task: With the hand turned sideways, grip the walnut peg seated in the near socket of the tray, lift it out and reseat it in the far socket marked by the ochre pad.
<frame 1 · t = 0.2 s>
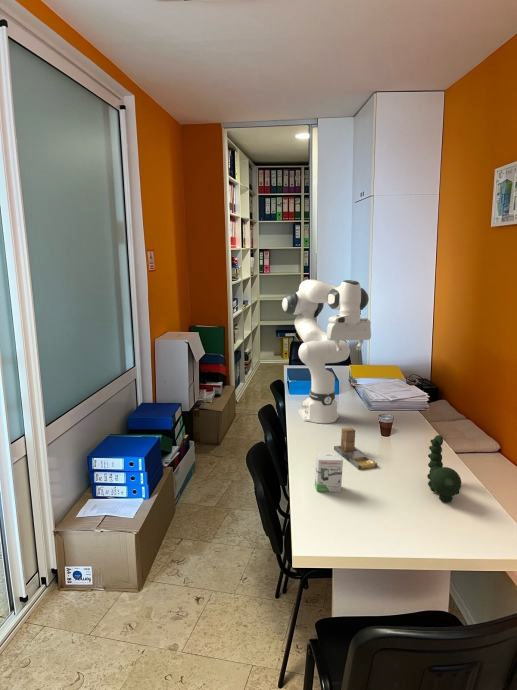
hand: (348, 350, 215), 39 cm above the table, tool pointing down, fingers open, 8 cm apart
toy figurine: (440, 492, 172), on the table
walnut peg: (347, 452, 205), resting in tray
ink box: (327, 489, 173), on the table
tray: (354, 458, 199), on the table
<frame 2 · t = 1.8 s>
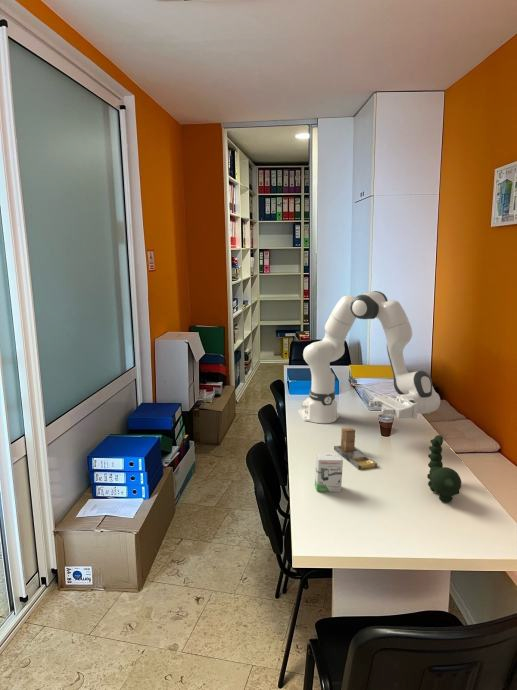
hand: (375, 408, 205), 18 cm above the table, tool horizontal, fingers open, 8 cm apart
nothing on the table moved.
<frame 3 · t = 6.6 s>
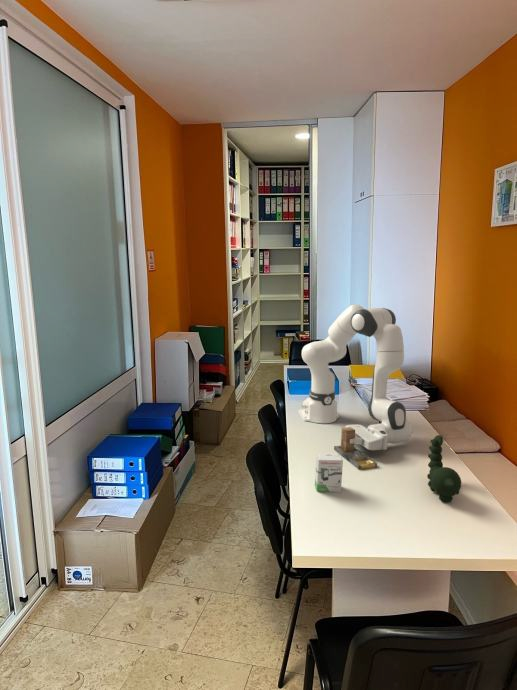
hand: (346, 438, 203), 6 cm above the table, tool horizontal, fingers closed on walnut peg, 4 cm apart
walnut peg: (347, 452, 205), resting in tray, touching gripper
everything else where it was.
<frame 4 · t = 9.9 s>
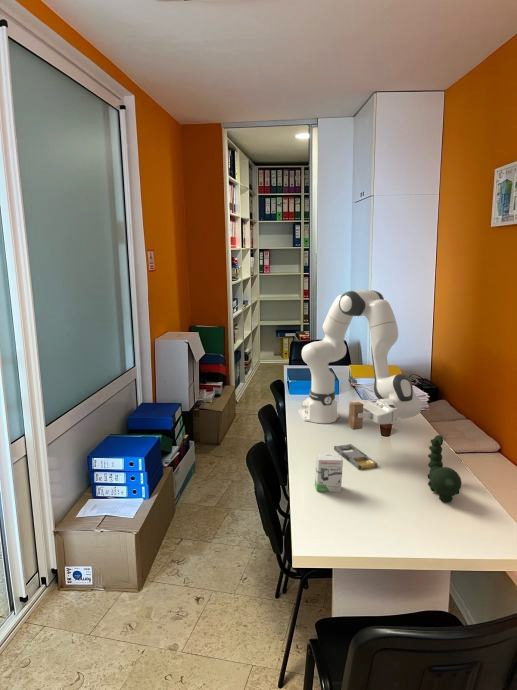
hand: (354, 413, 196), 18 cm above the table, tool horizontal, fingers closed on walnut peg, 4 cm apart
walnut peg: (355, 427, 198), point 12 cm above the table, touching gripper
everything else where it was.
when the fingers open (7 cm above the table, at t = 13.5 s): walnut peg drops 1 cm, resting on tray.
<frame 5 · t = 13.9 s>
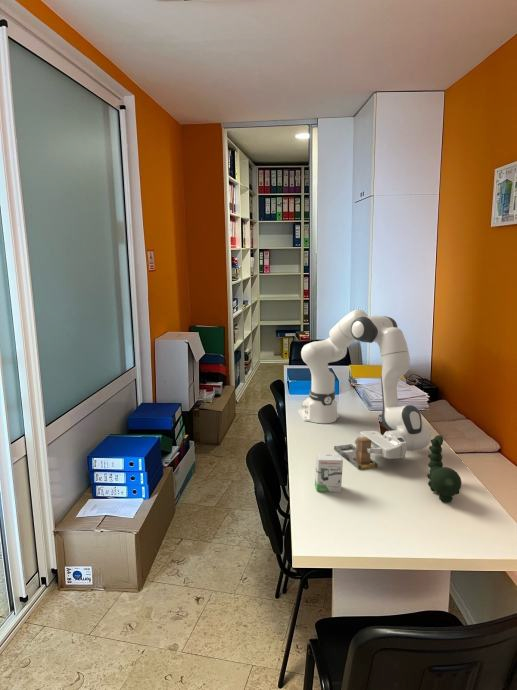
hand: (361, 446, 192), 7 cm above the table, tool horizontal, fingers open, 8 cm apart
walnut peg: (362, 463, 193), resting on tray
everything else where it was.
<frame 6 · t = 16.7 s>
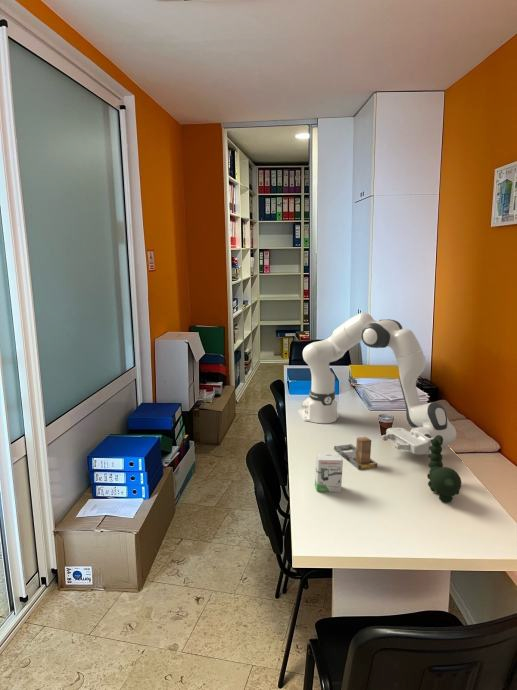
hand: (389, 442, 196), 8 cm above the table, tool horizontal, fingers open, 8 cm apart
nothing on the table moved.
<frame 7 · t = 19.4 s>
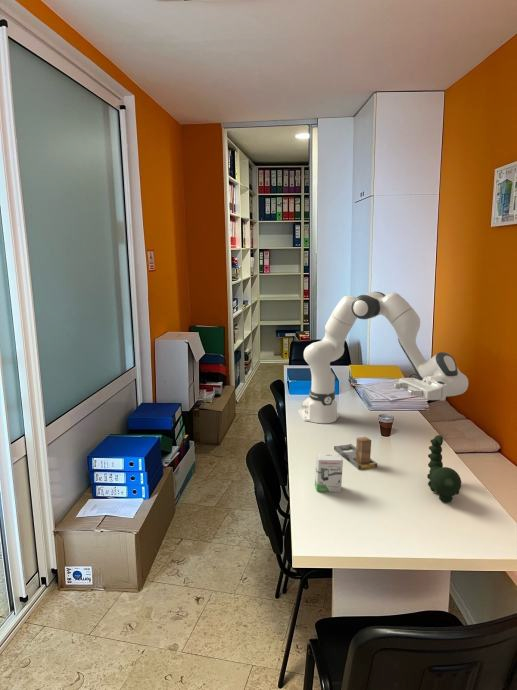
hand: (402, 389, 196), 28 cm above the table, tool horizontal, fingers open, 8 cm apart
nothing on the table moved.
at the end: walnut peg 0.0 cm from the target spot on the tray, point 0.3 cm above the tray's base; walnut peg tilted 0°; the gripper is holding nothing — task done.
